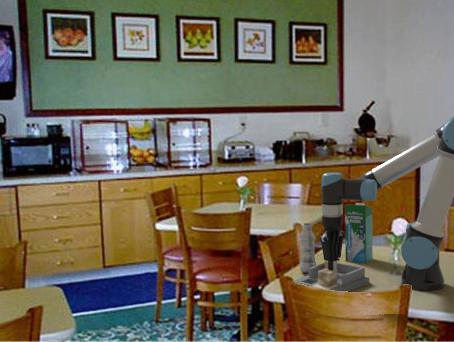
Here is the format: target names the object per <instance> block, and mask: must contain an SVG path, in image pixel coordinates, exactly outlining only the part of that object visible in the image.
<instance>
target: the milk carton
mask: <svg viewBox="0 0 454 342" xmlns="http://www.w3.org/2000/svg"><path fill="white" fill-rule="evenodd" d="M344 224H345V225H344V227H345V228H344V229H345V231H344V232H345V234H344V237H345V240H344V241H345V243H344V244H345V246H344V247H345V253H344V254H345V262H350V261H351V263H352V262H353V263H359V264H366V263H368V262H369V261H371V260H372V259H373V207H372V206H370V205H369V206H368V205H366V204H365V203H364V202H363V203H362V202H355V204H348V203H347V204H344Z"/></svg>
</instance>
